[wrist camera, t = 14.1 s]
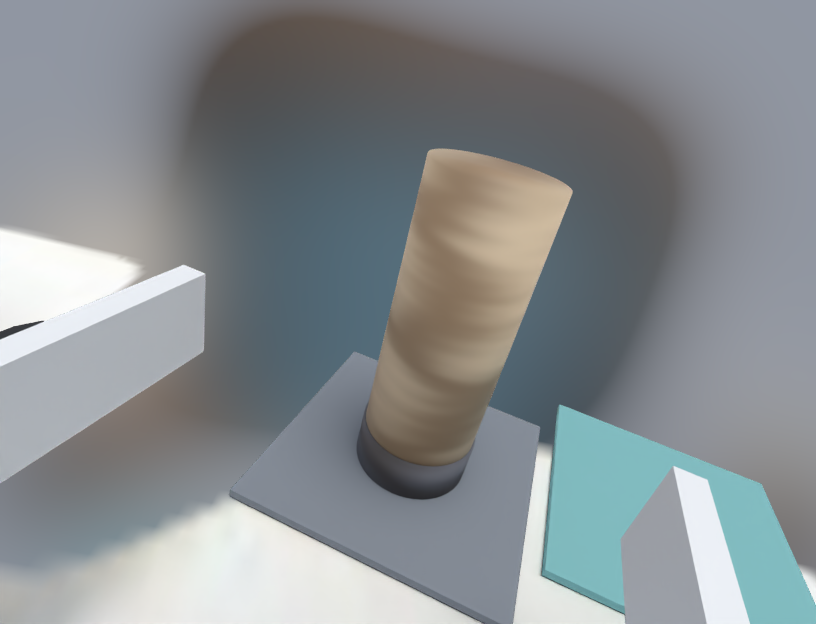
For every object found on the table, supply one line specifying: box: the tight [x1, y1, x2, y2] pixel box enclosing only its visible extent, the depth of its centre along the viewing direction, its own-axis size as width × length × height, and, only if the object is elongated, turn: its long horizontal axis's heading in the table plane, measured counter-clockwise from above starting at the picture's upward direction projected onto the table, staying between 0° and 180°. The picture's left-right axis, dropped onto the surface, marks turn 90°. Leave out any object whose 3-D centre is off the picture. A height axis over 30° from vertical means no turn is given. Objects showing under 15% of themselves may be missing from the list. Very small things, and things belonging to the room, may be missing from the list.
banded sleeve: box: [357, 149, 572, 500], centre depth 20 cm, size 5×5×14 cm
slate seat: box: [230, 352, 540, 624], centre depth 23 cm, size 12×12×1 cm
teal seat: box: [542, 405, 816, 624], centre depth 23 cm, size 12×12×1 cm
